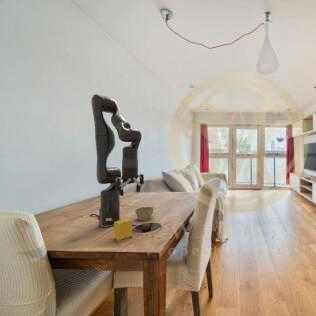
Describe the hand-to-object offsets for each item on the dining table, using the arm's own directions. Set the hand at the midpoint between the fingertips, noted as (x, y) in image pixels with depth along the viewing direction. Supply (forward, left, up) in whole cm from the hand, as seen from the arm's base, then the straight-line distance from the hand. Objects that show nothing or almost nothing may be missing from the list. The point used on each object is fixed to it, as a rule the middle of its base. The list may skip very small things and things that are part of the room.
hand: (130, 193), depth 101 cm
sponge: (+10, -13, -19) cm, 25 cm away
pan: (+8, 0, -19) cm, 21 cm away
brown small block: (+12, -1, -18) cm, 21 cm away
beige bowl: (0, +11, -19) cm, 22 cm away
